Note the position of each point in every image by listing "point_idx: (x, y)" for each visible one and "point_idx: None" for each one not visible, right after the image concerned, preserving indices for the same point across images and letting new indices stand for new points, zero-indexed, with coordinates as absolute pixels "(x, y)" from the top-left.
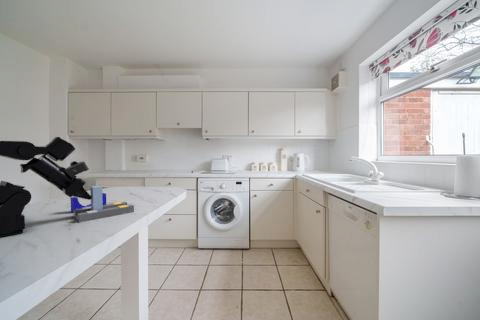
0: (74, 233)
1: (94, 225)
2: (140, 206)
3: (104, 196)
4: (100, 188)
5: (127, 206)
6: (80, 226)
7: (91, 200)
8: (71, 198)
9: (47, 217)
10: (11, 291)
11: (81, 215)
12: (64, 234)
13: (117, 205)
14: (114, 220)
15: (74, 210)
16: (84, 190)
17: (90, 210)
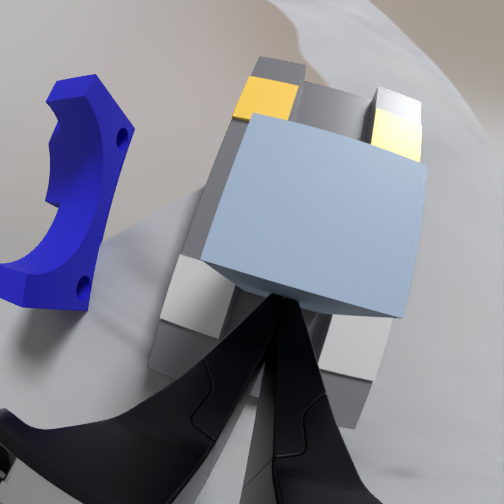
0: (466, 469)
1: (461, 384)
2: (320, 45)
3: (99, 95)
4: (412, 199)
5: (420, 131)
6: (414, 433)
7: (269, 294)
8: (1, 297)
9: (67, 420)
10: None
11: (358, 416)
12: (441, 495)
13: (289, 117)
14: (474, 281)
15: (176, 378)
16: (331, 432)
17: (236, 290)
